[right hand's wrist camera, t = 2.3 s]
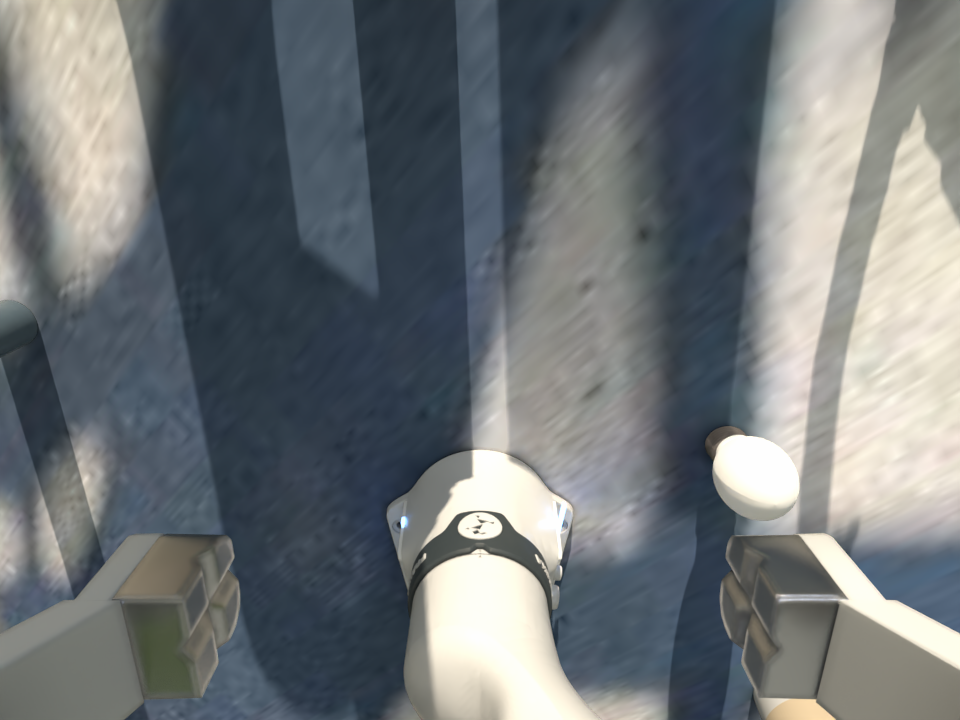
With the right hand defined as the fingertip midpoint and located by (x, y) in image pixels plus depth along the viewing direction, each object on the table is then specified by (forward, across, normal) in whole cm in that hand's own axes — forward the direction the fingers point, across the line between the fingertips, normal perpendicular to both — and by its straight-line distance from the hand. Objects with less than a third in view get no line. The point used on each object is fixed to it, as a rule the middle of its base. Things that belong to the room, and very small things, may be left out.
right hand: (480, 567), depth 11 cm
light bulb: (+48, +24, -23) cm, 58 cm away
